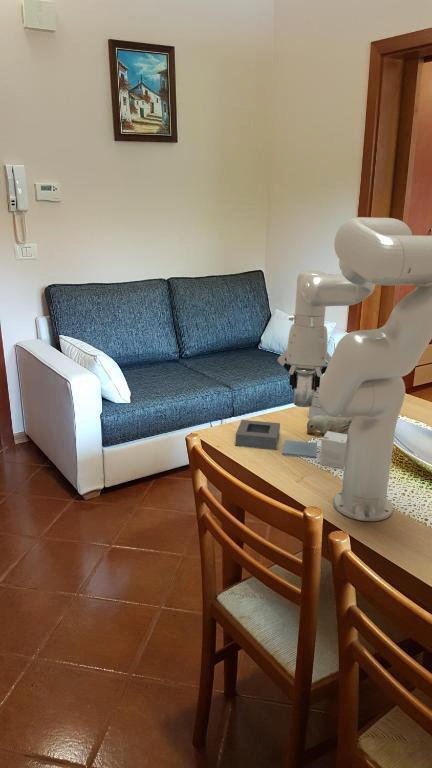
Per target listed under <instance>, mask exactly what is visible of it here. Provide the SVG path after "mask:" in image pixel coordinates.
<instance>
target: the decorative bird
mask: <svg viewBox="0 0 432 768" xmlns="http://www.w3.org/2000/svg"><path fill="white" fill-rule="evenodd" d="M353 418H354V417H343V418H336V417H331V416H321V415H317V416H313V417H311V418H309V419H308V421H307V424H306V433H307V434H311V433H314V432H320V434H323V435H325V434H326V433H327V431H330V432H336V433H341V434H347V435H348V429H349V426H350V424H351V422H352V420H353Z"/></svg>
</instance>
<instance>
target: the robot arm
mask: <svg viewBox="0 0 432 768" xmlns="http://www.w3.org/2000/svg"><path fill="white" fill-rule="evenodd" d="M334 237H335V238H334V243H333V245H334V251H335V255H336V256H337V258H338V259H339V260H338V265H339V269H340V271H341V273H328V274H327V273H326V272H324V271H320V270H319V271H318V270H304V271H301V272H299V273H298V275H297V279H296V294H295V306H294V307H295V308H294V313H293V314H289V315H288V321H291V322H293V324H291V326H290V329H289V333H288V337H287V347H286V350H285V351H283V353H282V354H281V355H279V356H278V358H277V362H278V363H279V364H280V365H281V366H283V368H284V369H285V370H286V371H287V372H288V374H289V383H288V386H291V390H295V376H296V372H294V371H295V368H296V366H297V365H300V366H313V367H315V368H316V374H315V382H314V391H317V387H318V388H319V387H320V388H319V403H320V406H321V408H322V410H323V411H324V412H325V413H326V414H327V415H329V416H331V417H336V418H343V417H354V418H353V420H352V422H351V424H350V426H349V429H348V435H347V444H346V454H345V464H344V468H343V475H342V476H343V477H342V485H341V491H338V492H337V493H336V494H335V495H334V496H333V507H335V509H336V510H337V511H338V512H339V513H341V514H342V515H344V516H346V517H348V518H351V519H354V520H358V521H362V522H363V521H364V522H379V521H382V520H383V521H384V520H385V519H387V518H389V517H391V515H392V513H393V509H394V508H393V507H394V506H393V504H392V502H391V501H390V499H388V498H387V495H388V489H389V488H388V486H389V479H390V471H391V463H392V457H393V456H392V455H393V451H392V449H393V445H394V441H395V434H396V428H397V422H398V419H399V416H400V414H401V410H402V408H403V404H404V401H405V396H406V385H405V381H404V379H403V377H405V376H407V375H408V374H410V373H411V372H412V371H413V370H414V368H416V366H417V364H418V363H419V361H420V359H421V358H422V356H423V354H424V352H425V351H426V349H427V347H428V346H429V343H431V341H432V235H413V233H412V230H411V229H410V227H409V226H408V225H407V224H406V223H405V222H404V221H402V220H400V219H397V218H393V217H365V216H364V217H363V216H359V217H358V216H357V217H352V218H349V219H347V220H345V221H344V222H343V223H342V224H341V225H340V226H339V227H338V229H337V232H336V234H335V236H334ZM377 285H378V286H415V285H416V287H415V288H414V289H413V290H411V291H410V292H409V293H407V294H406V295H405V296H404V297H403V298H402V299H400V300H399V301H398V303H396V305H395V306H394V308H393V309H392V311H391V313H390V315H389V317H388V319H387V320H386V322H385V324H384V325H383V326H381V327H379V328H375V329H361V330H353V331H351V332H348V333H346V334H345V335H344V336H342V338H340V339H339V341H338V342H337V344H336V347H335V348H334V351H333V353H332V355H330V354H329V352H328V343H329V342H328V329H327V326H326V325H325V319H326V318H325V316H326V307H346V306H355V305H357V304H359V303H361V302H362V301H364V300H366V299H367V298H368V297H369V296H371V295H372V294H373V293H374V290H375V287H376V286H377ZM285 359H286V360H285ZM323 374H324V376H323V378H322V381H321V384H320V377H321V376H322V375H323ZM393 450H394V449H393Z"/></svg>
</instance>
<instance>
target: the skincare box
mask: <svg viewBox="0 0 432 768" xmlns="http://www.w3.org/2000/svg"><path fill="white" fill-rule="evenodd" d="M346 444H347V434H341V433H336V432H330V431H327V433H326V434H323V437H322V438H321V445H320V447H321V448H320V461H319V462H320V463H319V464H320V466H321V465H322V466H327V467H332V468H335V469H342V470H344V464H345V454H346Z"/></svg>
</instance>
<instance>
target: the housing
mask: <svg viewBox="0 0 432 768" xmlns="http://www.w3.org/2000/svg"><path fill="white" fill-rule="evenodd" d="M280 429H281V423H280V422H272V421H270V422H269V421H259V420H248V419H241V420H240V423H239V425H238V428H237V430H236V432H235V441H234V442H235V443H234V445H235V447H242V446H244V447H243V448H252V449H253V448H254V449H264V450H273V451H275V450H277V448H278V443H279V438H280V434H281V433H280V432H281V430H280Z"/></svg>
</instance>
